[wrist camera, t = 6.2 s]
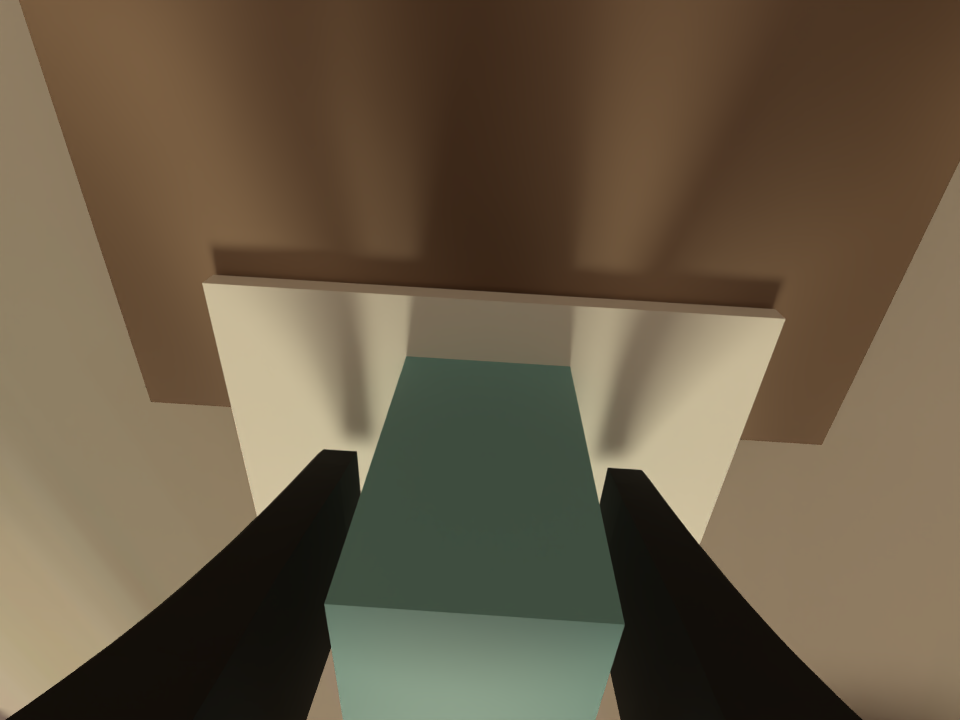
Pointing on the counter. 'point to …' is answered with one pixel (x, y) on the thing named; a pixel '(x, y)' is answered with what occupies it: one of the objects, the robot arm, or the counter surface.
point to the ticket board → (513, 159)
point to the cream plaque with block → (482, 469)
